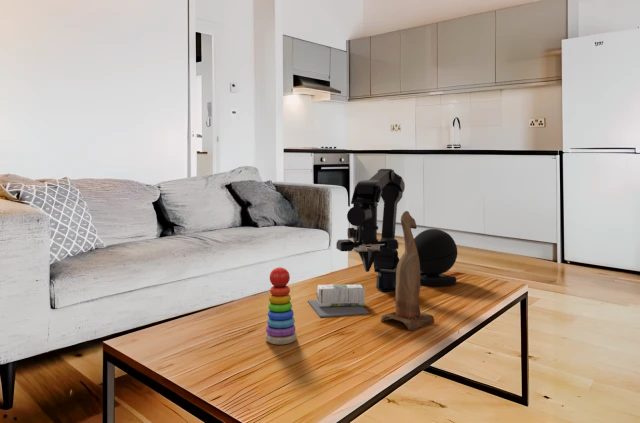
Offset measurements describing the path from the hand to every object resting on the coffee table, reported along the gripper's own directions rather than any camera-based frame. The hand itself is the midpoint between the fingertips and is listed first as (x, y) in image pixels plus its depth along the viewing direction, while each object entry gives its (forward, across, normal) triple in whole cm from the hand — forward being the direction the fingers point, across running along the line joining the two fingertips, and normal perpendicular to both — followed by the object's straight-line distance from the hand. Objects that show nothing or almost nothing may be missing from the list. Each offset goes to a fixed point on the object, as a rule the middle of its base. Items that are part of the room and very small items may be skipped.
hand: (367, 271), depth 154 cm
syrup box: (+8, +1, -1) cm, 8 cm away
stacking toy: (+11, +31, +23) cm, 40 cm away
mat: (+11, +10, 0) cm, 15 cm away
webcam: (+11, -35, -24) cm, 44 cm away
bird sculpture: (+11, -6, +18) cm, 22 cm away
